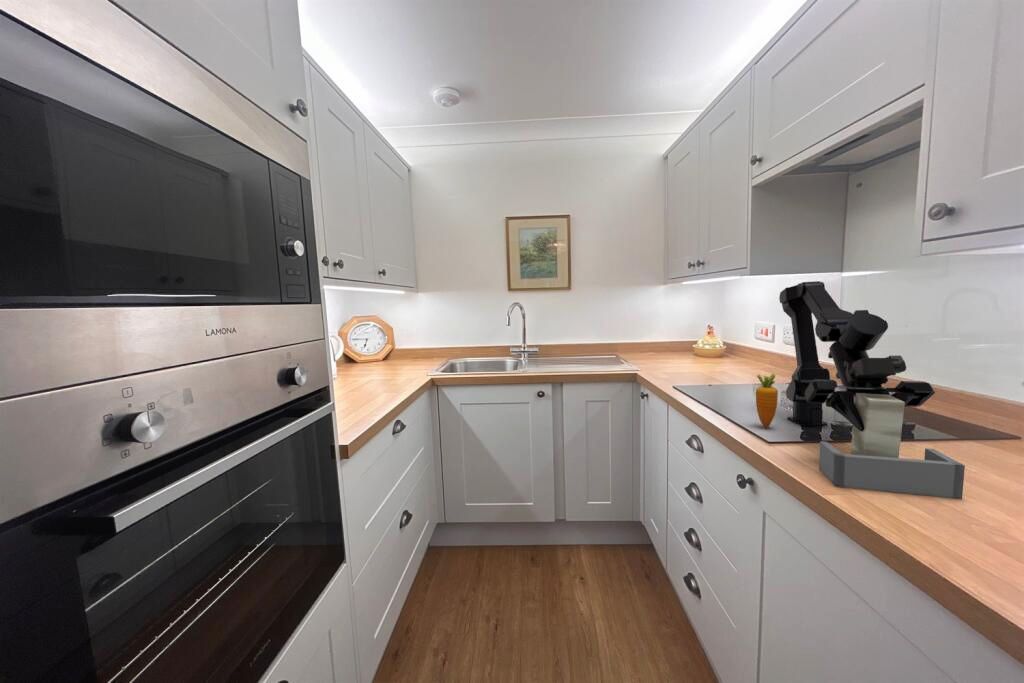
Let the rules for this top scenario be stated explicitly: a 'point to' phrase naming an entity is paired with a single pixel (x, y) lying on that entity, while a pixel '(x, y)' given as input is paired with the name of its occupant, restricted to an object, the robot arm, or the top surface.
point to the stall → (894, 472)
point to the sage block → (878, 426)
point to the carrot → (766, 400)
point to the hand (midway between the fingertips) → (880, 431)
